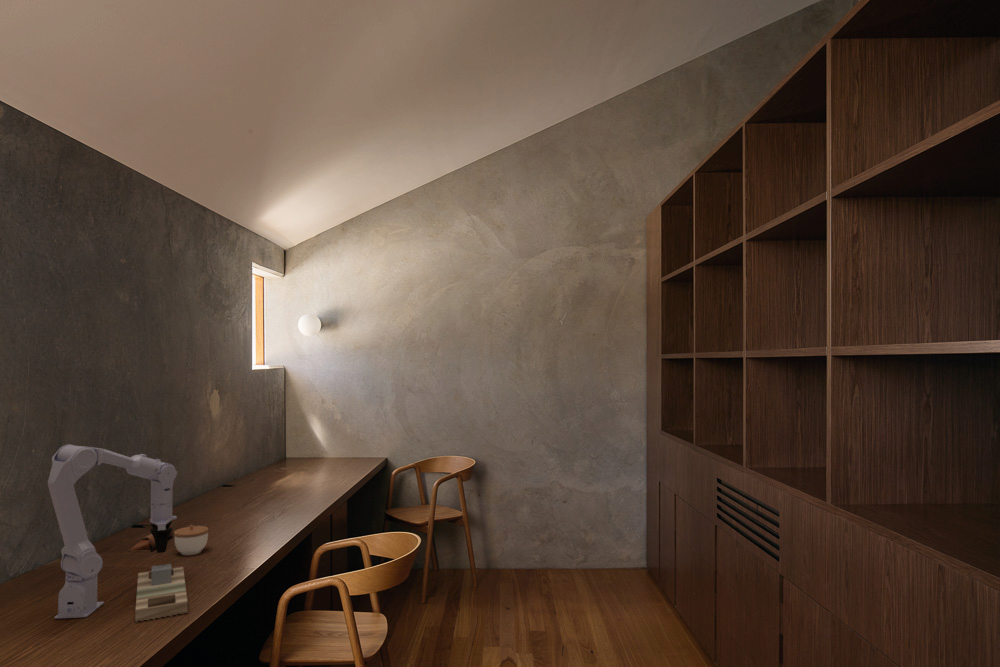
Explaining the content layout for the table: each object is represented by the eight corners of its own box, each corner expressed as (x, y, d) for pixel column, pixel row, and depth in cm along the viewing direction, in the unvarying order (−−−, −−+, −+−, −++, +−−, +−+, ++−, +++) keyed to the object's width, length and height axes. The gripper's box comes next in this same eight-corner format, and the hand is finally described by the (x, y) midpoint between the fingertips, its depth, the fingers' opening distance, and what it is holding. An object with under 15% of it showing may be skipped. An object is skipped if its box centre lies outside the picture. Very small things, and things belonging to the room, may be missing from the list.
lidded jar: (213, 547, 228) (213, 520, 228) (200, 557, 217) (200, 529, 218) (182, 548, 228) (182, 521, 228) (167, 557, 217) (168, 529, 217)
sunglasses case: (149, 537, 241) (159, 521, 241) (166, 546, 241) (176, 530, 242) (126, 552, 223) (137, 535, 223) (145, 562, 223) (155, 545, 224)
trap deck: (187, 613, 171) (187, 602, 171) (135, 622, 165) (135, 610, 165) (182, 576, 199) (182, 566, 199) (138, 582, 194) (138, 572, 194)
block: (171, 582, 185) (171, 568, 185) (151, 585, 183) (151, 571, 183) (170, 577, 190) (171, 563, 190) (151, 580, 187) (151, 566, 187)
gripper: (177, 506, 189) (177, 553, 188) (175, 496, 201) (175, 540, 201) (149, 509, 185) (149, 557, 185) (150, 499, 198) (149, 543, 198)
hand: (161, 548), depth 193 cm, fingers open, 7 cm apart
